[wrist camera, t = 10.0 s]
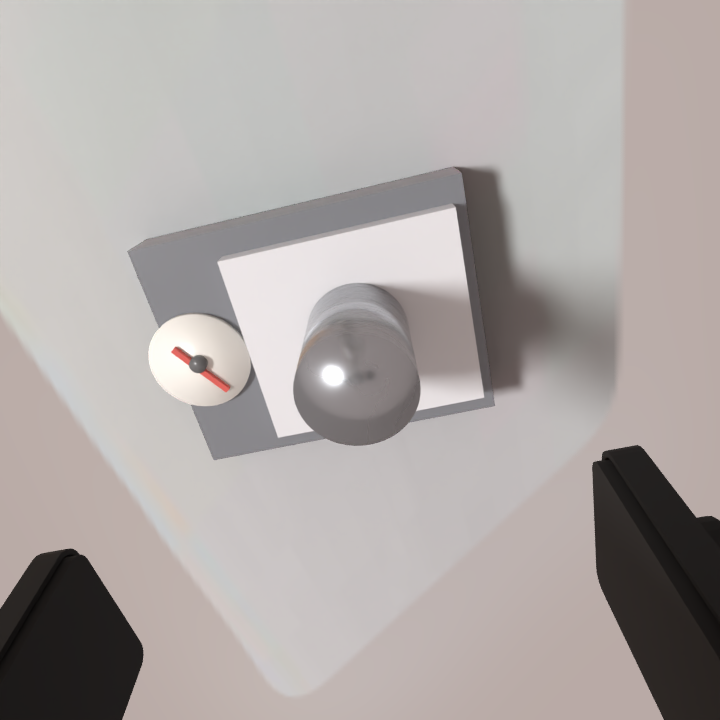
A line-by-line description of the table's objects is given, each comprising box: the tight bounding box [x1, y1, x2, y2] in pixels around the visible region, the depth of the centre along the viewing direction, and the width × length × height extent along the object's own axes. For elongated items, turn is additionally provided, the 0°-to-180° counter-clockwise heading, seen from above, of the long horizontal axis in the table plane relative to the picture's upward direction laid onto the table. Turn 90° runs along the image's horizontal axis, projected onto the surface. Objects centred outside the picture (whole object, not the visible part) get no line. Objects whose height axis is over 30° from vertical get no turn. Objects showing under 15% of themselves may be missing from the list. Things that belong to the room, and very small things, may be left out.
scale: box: [127, 167, 495, 460], centre depth 23 cm, size 10×14×3 cm
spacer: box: [293, 283, 421, 446], centre depth 19 cm, size 4×4×5 cm
